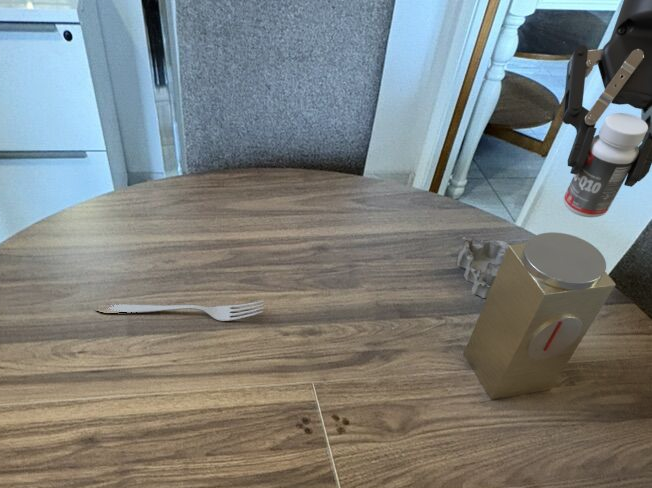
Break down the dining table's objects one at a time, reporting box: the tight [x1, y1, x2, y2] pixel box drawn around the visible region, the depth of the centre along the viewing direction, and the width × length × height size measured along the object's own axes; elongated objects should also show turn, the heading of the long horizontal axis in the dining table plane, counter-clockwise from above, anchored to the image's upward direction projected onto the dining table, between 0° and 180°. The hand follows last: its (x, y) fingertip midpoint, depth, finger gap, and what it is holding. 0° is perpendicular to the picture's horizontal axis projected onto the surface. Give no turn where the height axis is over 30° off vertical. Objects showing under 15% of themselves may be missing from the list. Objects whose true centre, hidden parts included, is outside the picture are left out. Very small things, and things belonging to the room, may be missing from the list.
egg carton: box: [456, 235, 510, 299], centre depth 94 cm, size 11×8×4 cm
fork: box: [108, 300, 265, 322], centre depth 87 cm, size 3×24×2 cm, turn 90°
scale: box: [463, 231, 617, 401], centre depth 77 cm, size 9×10×18 cm
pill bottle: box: [563, 112, 648, 218], centre depth 62 cm, size 5×5×8 cm
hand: (603, 176), depth 61 cm, fingers closed on pill bottle, 4 cm apart
